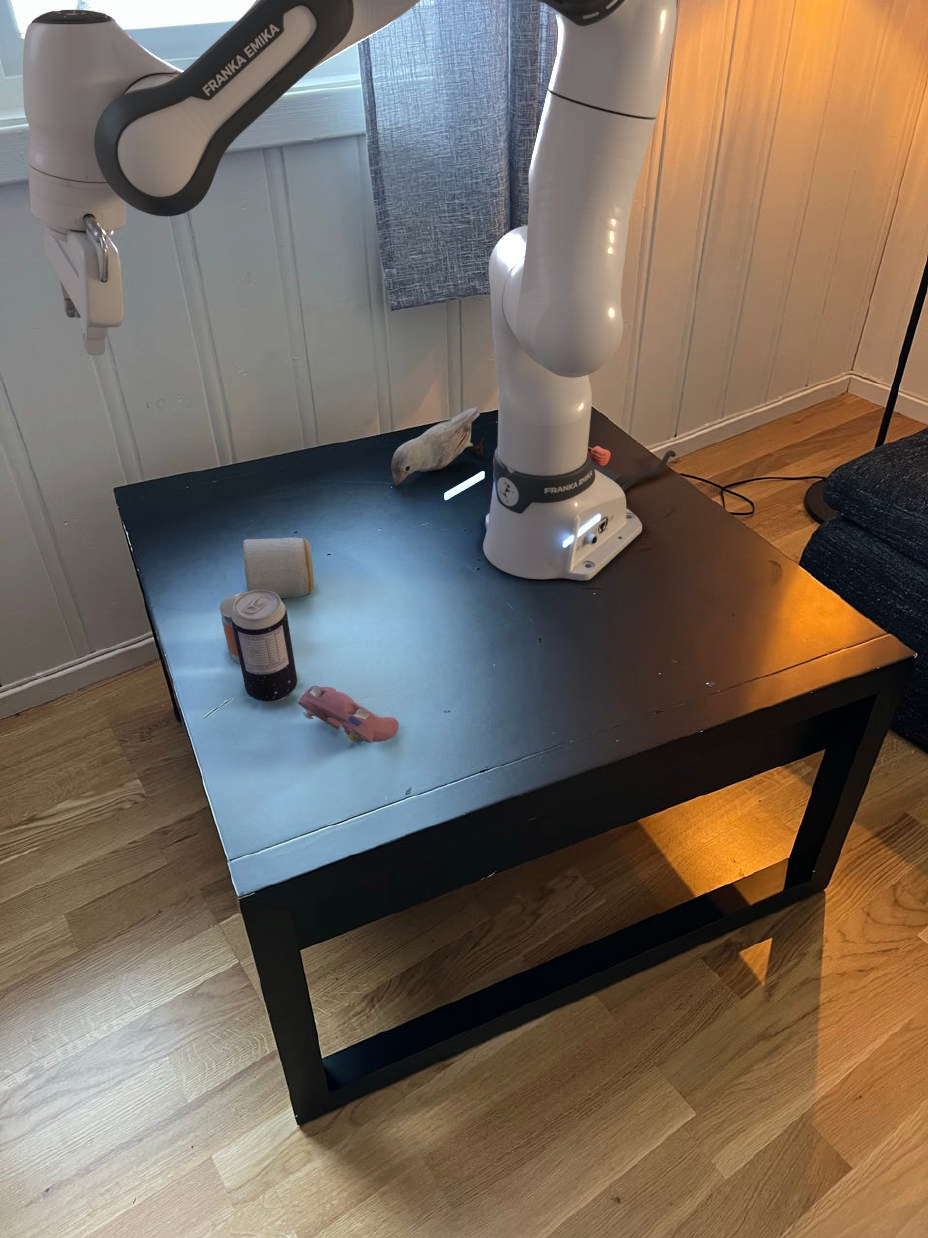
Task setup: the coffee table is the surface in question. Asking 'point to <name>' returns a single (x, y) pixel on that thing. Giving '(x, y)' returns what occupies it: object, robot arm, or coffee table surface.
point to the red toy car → (347, 715)
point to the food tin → (229, 626)
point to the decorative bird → (435, 446)
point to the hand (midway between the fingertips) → (83, 332)
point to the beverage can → (264, 645)
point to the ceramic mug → (279, 566)
